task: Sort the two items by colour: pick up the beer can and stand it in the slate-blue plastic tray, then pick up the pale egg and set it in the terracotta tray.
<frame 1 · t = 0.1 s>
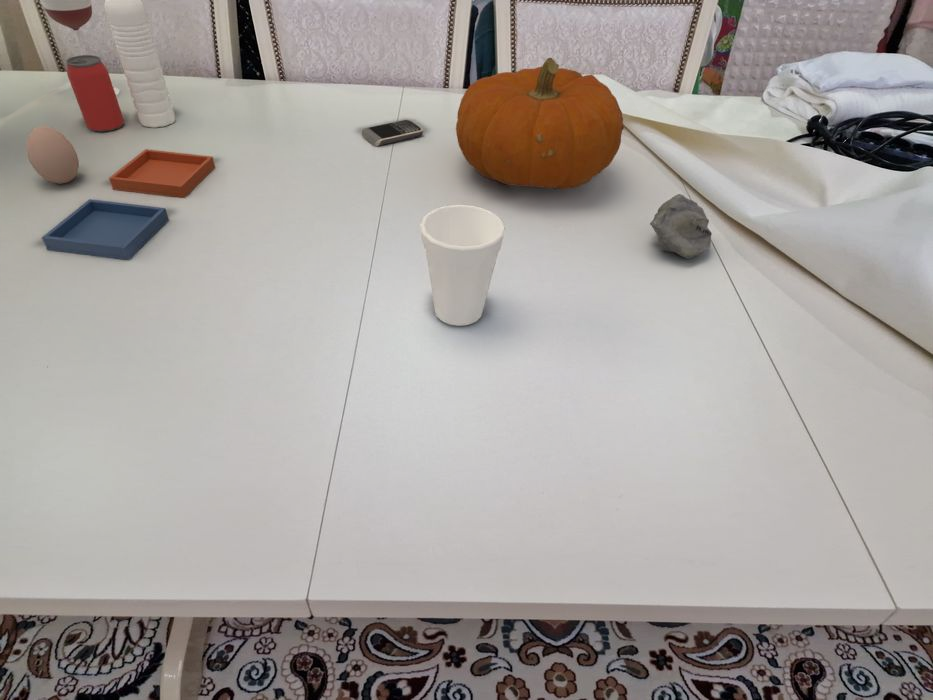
beer can: (106, 127, 118), on the table
cup: (458, 314, 80), on the table
water bottle: (164, 121, 121), on the table
wineglass: (98, 93, 130), on the table
cell phone: (393, 137, 120), on the table
blue tray: (110, 234, 90), on the table
egg: (64, 183, 101), on the table
terracotta tray: (165, 178, 104), on the table
pumpkin: (532, 175, 111), on the table
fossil: (672, 250, 94), on the table
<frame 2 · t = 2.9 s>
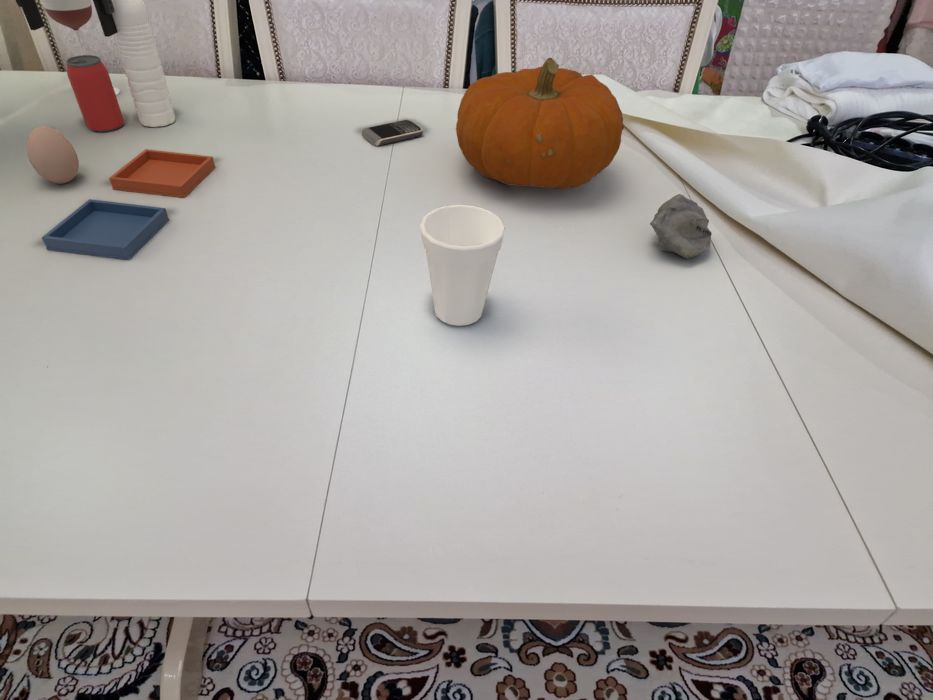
hand: (74, 31, 106), 17 cm above the table, tool pointing down, fingers open, 13 cm apart
water bottle: (164, 121, 121), on the table, touching gripper
everything else where it was.
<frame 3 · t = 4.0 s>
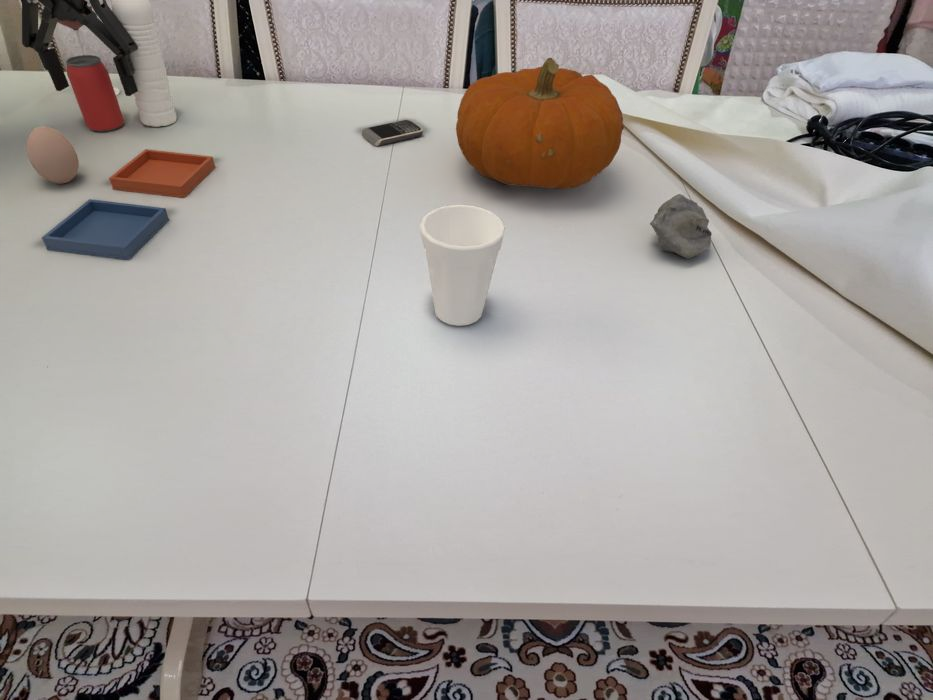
hand: (97, 91, 113), 7 cm above the table, tool pointing down, fingers open, 13 cm apart
water bottle: (165, 121, 121), on the table
everything else where it was.
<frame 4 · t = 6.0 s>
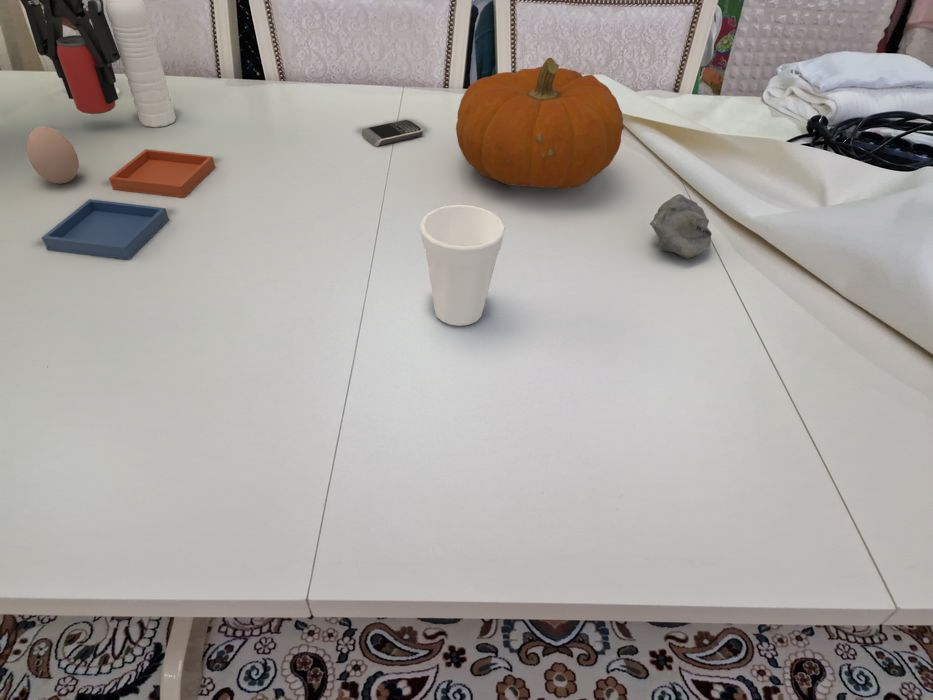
hand: (94, 98, 114), 5 cm above the table, tool pointing down, fingers closed on beer can, 6 cm apart
beer can: (97, 109, 115), point 3 cm above the table, touching gripper
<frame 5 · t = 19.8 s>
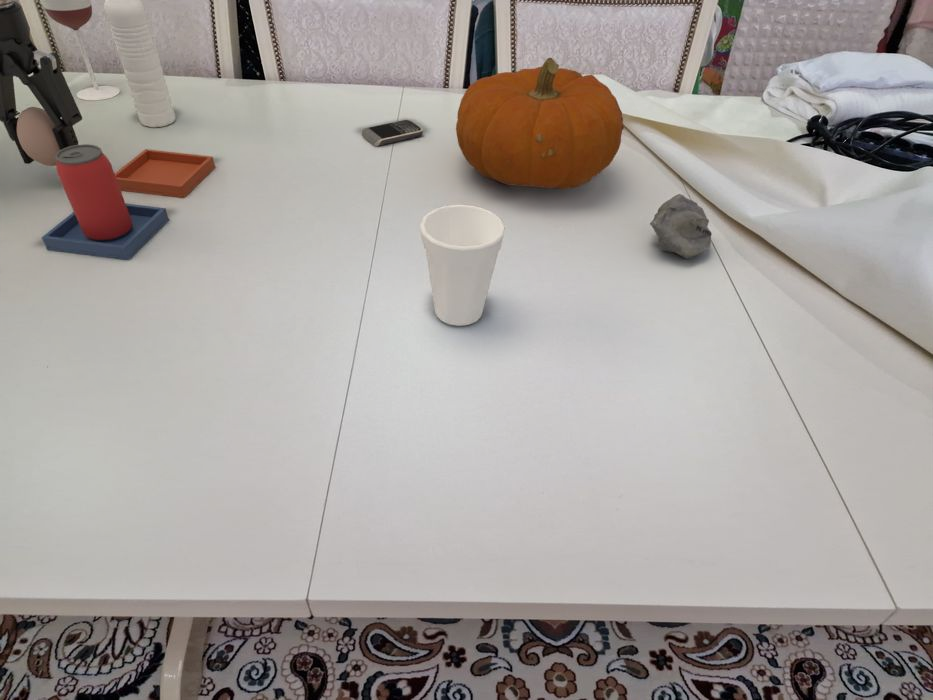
hand: (53, 162, 99), 3 cm above the table, tool pointing down, fingers closed on egg, 7 cm apart
beer can: (109, 232, 90), resting on blue tray
egg: (55, 165, 99), point 3 cm above the table, touching gripper
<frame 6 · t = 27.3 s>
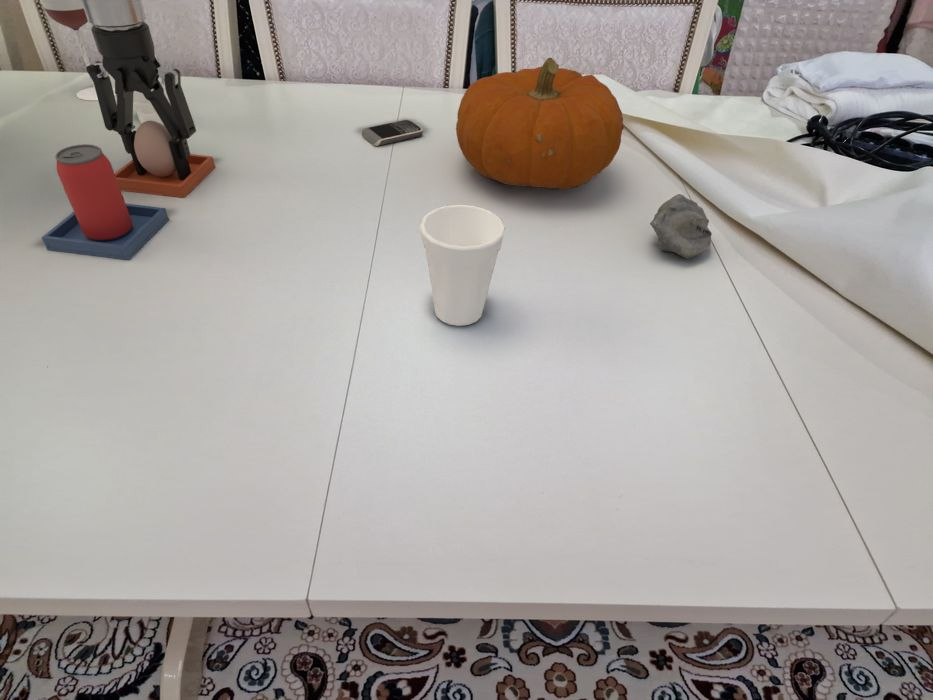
hand: (164, 173, 103), 1 cm above the table, tool pointing down, fingers closed on egg, 7 cm apart
egg: (165, 176, 103), resting on terracotta tray, touching gripper
when the fingers open (2 cm above the table, at t = 31.9 s): egg stays where it is, resting on terracotta tray.
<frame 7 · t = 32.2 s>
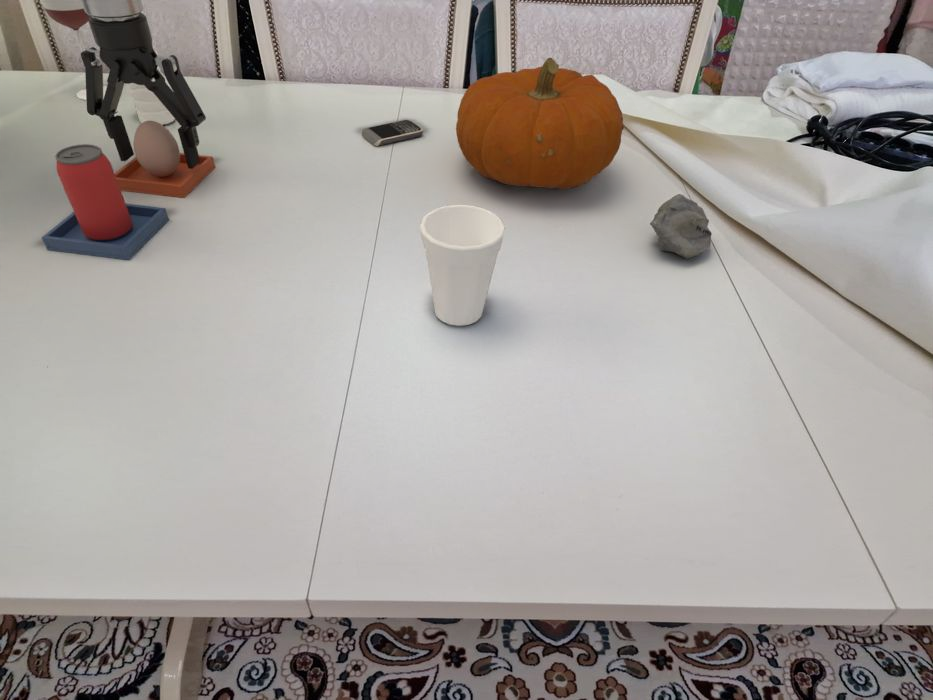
hand: (160, 161, 102), 3 cm above the table, tool pointing down, fingers open, 11 cm apart
egg: (164, 176, 103), resting on terracotta tray
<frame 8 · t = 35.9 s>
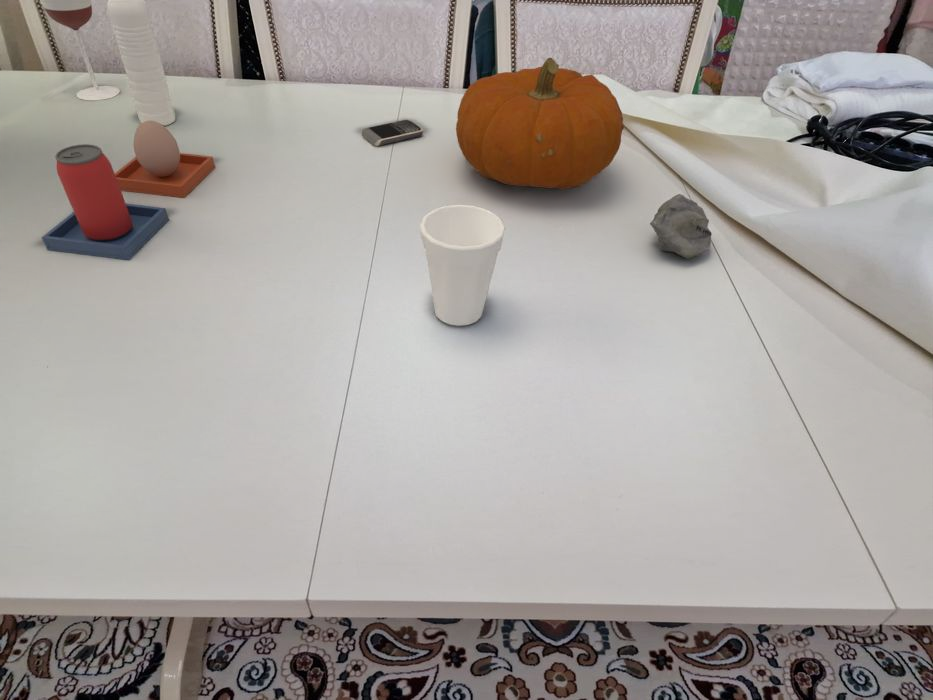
at the end: beer can inside the target area in the blue tray (0.0 cm from its centre), point 0.3 cm above the blue tray's base; egg inside the target area in the terracotta tray (0.1 cm from its centre), point 0.3 cm above the terracotta tray's base; beer can tilted 0° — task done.
